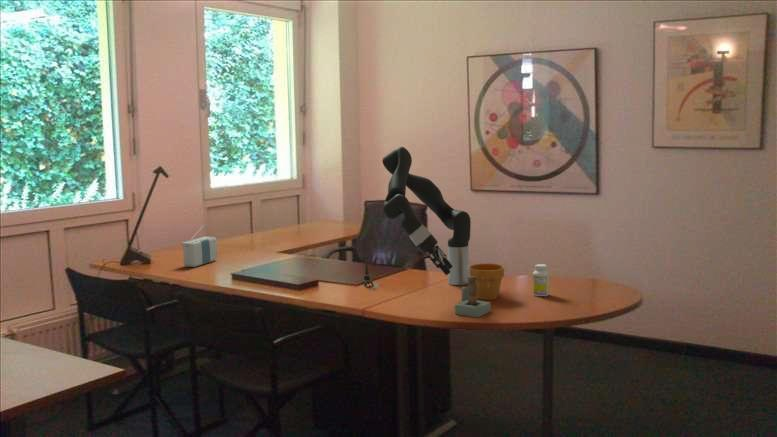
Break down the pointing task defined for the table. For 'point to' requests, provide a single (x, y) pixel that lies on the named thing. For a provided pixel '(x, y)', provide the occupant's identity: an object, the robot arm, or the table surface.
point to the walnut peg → (472, 291)
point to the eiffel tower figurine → (368, 279)
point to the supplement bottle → (541, 280)
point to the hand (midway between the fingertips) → (449, 270)
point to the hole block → (472, 308)
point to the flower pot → (487, 280)
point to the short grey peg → (464, 293)
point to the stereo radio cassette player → (199, 251)
